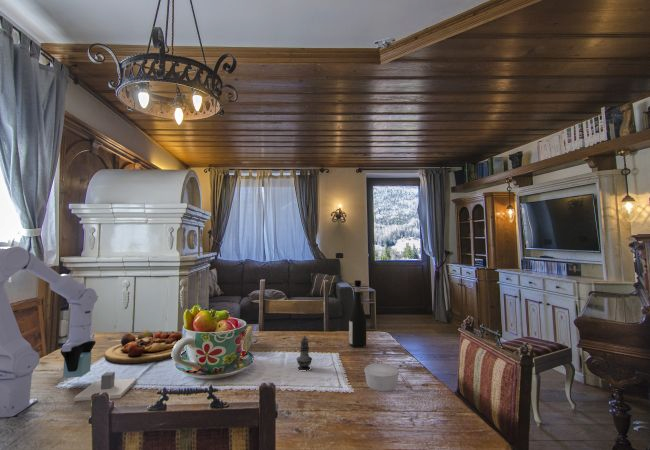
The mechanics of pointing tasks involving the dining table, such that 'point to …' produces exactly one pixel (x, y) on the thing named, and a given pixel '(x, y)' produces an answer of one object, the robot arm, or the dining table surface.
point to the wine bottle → (357, 320)
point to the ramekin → (381, 377)
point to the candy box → (248, 339)
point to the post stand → (106, 387)
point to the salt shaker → (304, 356)
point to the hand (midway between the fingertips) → (77, 368)
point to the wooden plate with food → (143, 347)
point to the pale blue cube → (79, 366)
